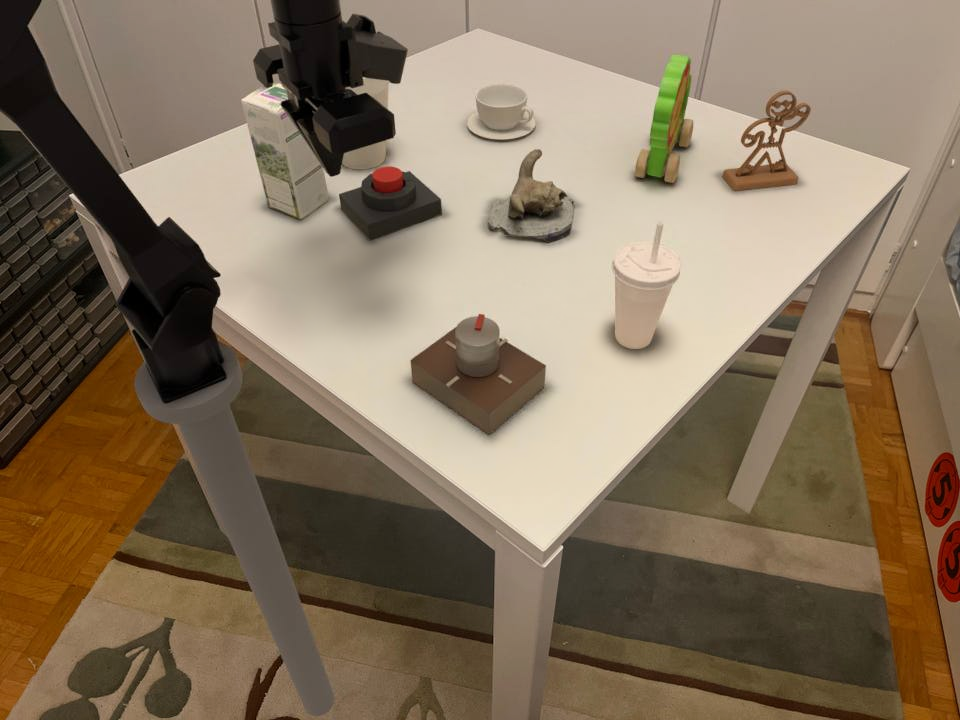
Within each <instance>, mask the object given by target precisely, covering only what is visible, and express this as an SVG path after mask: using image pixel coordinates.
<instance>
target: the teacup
mask: <svg viewBox="0 0 960 720" xmlns="http://www.w3.org/2000/svg"><path fill="white" fill-rule="evenodd" d="M528 95H529V94H528V93H527V91H526V90H525V89H523V87H520V86H517V85H514V84H510V83H493V84H488V85H485V86H482V87H481V88H479V89H478V90H477V91H475V97H474V98H475V104H476V110H477V111H474V112H473V113H472V114H471V115H470V116H469V117H468V118H467V121H466V126H467V129H469V131H470V132H472V133H474V134H475V135H477V136H480V137H482V138H486V139H491V140H513V139H518V138H522V137H523V136H526V135H528V134H529V133H531V132H532V131H533V130H534V129H535V127H536V120H535V118H534V110H533V108H532V107H530V106H529V105H527V103H528V97H529V96H528Z"/></svg>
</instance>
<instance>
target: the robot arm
mask: <svg viewBox="0 0 960 720" xmlns="http://www.w3.org/2000/svg"><path fill="white" fill-rule="evenodd" d="M42 1H43V0H0V113H1V114H2V115H4V116H5V117H6V118H8V119H9V120H10V121H11V122H12V123H13V125H15V127H16V128H17V129H18V130H19V132H21V134H22V135H23V136H24V137H25V139H26V140H27V141H28V142H29V143H30V144H31V145H32V147H33V148H34V149H35V150H36V152H37V153H38V154H39V155H40V156H41V157H42V159H43V160H44V161H45V162H46V163H47V165H48V166H49V168H51V169H52V170H53V171H54V173H55V174H56V175H57V176H58V178H59V179H60V180H61V181H62V182H63V184H64V185H65V186H66V187H67V188H68V189H69V191H70V192H71V193H72V194H73V195H74V196H75V198H76V199H77V200H78V201H79V203H81V205H82V206H83V207H84V208H85V210H86V211H87V213H89V215H91V217H92V218H93V219H94V220H95V221H96V223H97V224H98V225H99V226H100V227H101V229H102V230H103V231H104V232H105V233H106V234H107V235H108V237H109V239H111V241H112V243H113V246H114V248H115V251H116V253H117V256H118V258H119V261H120V263H121V265H122V267H123V268H124V270H125V272H126V274H127V276H128V280H127V282H126V283H125V285H124V287H123V289H122V290H121V292H120V294H119V296H118V298H117V299H116V301H115V304H114V305H115V308H117V310H118V311H119V312H120V313H121V314H122V315H123V317H124V319H126V320H127V322H128V323H129V324H130V325H131V327H132V328H133V329H132V330H131V332H132V335H133V337H134V339H135V342H136V344H137V347H138V349H139V351H140V353H141V355H142V357H143V360H144V362H146V367H147V370H148V372H149V374H150V376H151V378H152V380H153V383H154V385H155V387H156V389H157V391H158V393H159V396H160V398H161V400H162V402H163V403H170V402H173V401H175V400H177V399H180V398H182V397H185V396H187V395H190V394H192V393H195V392H197V391H200V390H202V389H204V388H207V387H209V386H212V385H214V384H217V383H219V382H222V381H224V380H226V379H227V375H226V372H225V370H224V369H223V367H222V365H221V364H222V363H224V361H225V360H224V357H223V354H222V351H221V348H220V345H219V343H218V341H219V339H218V336H217V335H216V332H215V330H214V329H213V320H214V319H213V318H214V317H213V316H214V309H215V308H216V307H217V304H218V302H219V298H220V297H221V296H222V294H221V288H220V285H219V283H218V281H217V280H216V278H220V277H221V276H222V274H221V273H220V272H219V271H218V270H217V269H216V268H215V267H214V266H213V265H212V263H210V262H209V261H208V260H207V258H206V256H205V254H204V252H203V250H202V249H201V246H200V245H199V243H197V242H196V240H194V239H193V238H192V237H191V235H189V234H188V233H187V232H186V231H185V230H184V229H183V228H182V227H181V226H180V225H179V224H178V223H177V222H175V220H174V219H173V218H171V216H168V217H166V219H165V220H163V221H162V222H161V223H160V224H159V225H158V224H157V223H156V222H155V220H154V219H153V218H152V216H151V215H150V214H149V212H148V211H147V210H146V208H145V207H144V206H143V205H142V203H141V202H140V200H138V198H137V197H136V196H135V195H134V193H133V192H132V190H131V189H130V187H129V186H128V185H127V184H126V182H125V181H124V180H123V178H122V177H121V176H120V174H119V173H118V171H117V170H116V169H115V167H113V165H112V164H111V162H110V161H109V160H108V159H107V157H106V156H105V155H104V153H103V152H102V151H101V149H100V148H99V147H98V145H97V144H96V143H95V141H94V140H93V139H92V137H91V136H90V135H89V133H88V132H87V131H86V129H85V128H84V127H83V126H82V124H81V123H80V122H79V120H78V119H77V117H76V116H75V115H74V114H73V113H72V111H71V110H70V108H69V107H68V106H67V104H66V103H65V102H64V101H63V99H62V97H61V96H60V94H59V92H58V90H57V88H56V85H55V83H54V79H53V76H52V74H51V71H50V69H49V66H48V64H47V61H46V59H45V57H44V55H43V53H42V50H41V48H40V47H39V45H38V44H37V43H38V42H37V41H36V39H35V37H34V36H33V33H32V32H31V29H30V28H29V24H30V23H31V21H32V20H33V18H34V17H35V14H36V13H37V11H38V9H39V7H40V6H41V4H42ZM270 4H271V5H270V6H271V10H272V15H273V20H274V21H272V22H268V23H267V25H268V31H269V35H270V36H271V37H272V38H273V39H274V40H275V41H276V42H278V44H274V45H270V46H266V47H263V48H259V49H258V51H257V53H256V55H255V56H254V58H253V59H252V63H253V67H254V71H255V76H256V79H257V80H258V81H259V82H260V83H261V85H263V86H265V87H266V88H269V87H272V86H273V82H275V81H274V78H273V75H277V76H278V80H279V82H280V84H282V87H283V88H285V89H286V91H287V97H288V100H284V101H282V102H281V103H280V104H281V107H282V108H283V110H284V111H285V112H286V114H287V115H288V116H289V118H290V119H291V121H292V122H293V124H294V125H295V127H296V128H297V130H298V131H299V133H300V134H301V135H302V137H303V138H304V140H305V141H306V143H307V144H308V146H309V147H310V149H311V150H312V152H313V153H314V155H315V156H316V158H317V159H318V161H319V162H320V164H321V165H322V167H323V169H324V172H325V173H326V174H327V175H328V176H329V177H330V178H333V177H336V176H339V175H340V174H341V170H342V166H343V164H342V161H343V156H344V153H346V152H350V151H353V150H356V149H360V148H363V147H366V146H369V145H373V144H376V143H379V142H382V141H386V140H387V141H389V140H391V139H394V137H396V135H397V133H396V131H397V130H396V122H395V120H396V119H395V114H394V113H393V112H392V111H391V110H389V108H388V109H387V108H386V107H385V106H383V105H382V104H381V103H380V102H379V101H377V100H376V99H375V98H373V97H372V96H370V95H369V94H368V93H362V94H359V95H357V94H356V93H355V92H354V91H352V90H351V89H345V88H347V87H351V88H356V87H359V86H363V85H364V83H363V77H364V78H370V79H378V80H386V81H390V83H389V84H393V85H399V84H401V83H402V77H403V73H404V69H405V64H406V61H407V57H408V56H407V55H408V52H409V49H408V48H407V47H406V46H405V45H403V44H402V43H400V42H399V41H398V40H396V39H394V38H393V37H392V36H389V35H387V34H385V33H383V32H382V31H376V26H375V22H374V21H373V20H372V19H371V18H369V17H368V16H366V15H365V14H364V15H363V14H357V13H352V14H351V16H350V17H349V19H348V20H347V22H345V21H344V20H343V17H342V9H341V1H340V0H270ZM387 141H386V142H387ZM221 376H222V377H221ZM166 398H167V399H166Z"/></svg>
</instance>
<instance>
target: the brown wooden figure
mask: <svg viewBox="0 0 960 720" xmlns="http://www.w3.org/2000/svg"><path fill="white" fill-rule="evenodd" d="M782 96H791V99H792V100H791V101H790V100H788V99H784V100H783V101H779V100H777V99H779V98H781V97H782ZM797 101H798V100H797V97H796V95H795V94H794V93H793V92H792V91H789V90H780V91H778V92H776V93H775V94H773V95H772V96H771V97H770V98H769V100H768V101H767V103H766V106H765V113H766V115H767V117H763V118H760V119H757V120H755V121H753V122H752V123H751V124H749V126H747V128H746V129H745V130H744V131H743V133H742V135H741V138H740V143H741V144H742V146H743V147H744V148H752V147H753V146H755V144H757V145H756V147H755V148H754V149H753V151H752V152H751V153H750V154H749V155H748V157H747V158H746V159H745V161H744V162H743V163H742V164H741V166H740V167H736V168H728V169H726V168H725V169H724V170H723V172H722V178H723V179H724V181H725V182H726V183H727V184H728V186H729V187H730V189H732V191H735V192H738V191H748V190H756V189H764V188H765V189H766V188H774V187H781V186H783V187H784V186H792V185H797V184H798V180H799V176H798V175H797V174H796V173H795V171H793V169H792V168H791V167H790V166H789V165H788V163H787V161H786V157H785V154H784V151H783V148H782V145H783V142H784V140H785V135H786V133H790V132H792V131H795V130H797V129H798V128H799V127H801V126H802V125H803V124H804V123H805V122H806V121H807V119H808V118H809V116H810V113H811V110H812V109H811V106H810V105H809V104H808V103H806V102H800V103H798V104H797ZM771 107H774V108H775V109H777V110H778V109H780V108H781V107H784V108H783V109H782V110H780V111H775V110H774V109H773V108H771ZM802 108H805V111H804V110H801V109H802ZM771 113H772V114H773V115H774V116H773V115H772V114H771ZM796 117H800V119H798V121H797V122H796V123H794V124H793V125H791V126H788V127H785V128H782V127H783V126H784V123H785V121H791V120H793V119H795V118H796ZM765 123H767V125H768V126H769V128H770V135H769V136H768V137H767V139H768V141H767V142H764V140H765V136H766V132H765V131H764V130H759V131H757V132H756V133H755V134H751V133H750V132H752V130H753V129H755V128H756V127H757V126H759V125H761V124H765ZM777 126H779V127H781V131H780V134H779V137H778V140H776V137H774V134H776V133H778V128H777ZM746 140H748V141H749V140H750V141H749V142H747V143H746ZM775 140H776V141H775ZM771 148H778V152H779V155H780V156H779V157H780V159H778V160H776V161H775V162H773V163H772V159H771V156H770V153H769V152H768V151H767V150H765V152H764V153H763V155H761V157H760V158H759V159H758V160H757V162H756V163H755V164H754V165H751V164H750V163H751V162H752V161H753V159H754V158H755V157H756V155H758V153H760V151H761V150H762V149H771ZM766 160H767V163H768V164H763V163H764V162H765V161H766ZM762 164H763V165H762Z"/></svg>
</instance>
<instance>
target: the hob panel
mask: <svg viewBox="0 0 960 720" xmlns="http://www.w3.org/2000/svg"><path fill="white" fill-rule="evenodd" d="M456 327H457V326H455V327H453V329H451V330H449V332H447V333H446V334H444V335H443V336H441V337H440V338H439V339H437V340H436V341H435V342H433V343H432V344H430V345H429V346H427V347H426V348H424V349H423V350H422V351H421V352H419V353H418V354H417V355H415V356H413V357H412V358H411V359H410V360H409V361H410V371H411V382H412V383H413V384H415V385H416V386H418V387H419V388H421V389H422V390H423V391H425V392H426V393H428V394H429V395H431V396H432V397H434V398H435V399H436V400H438V401H440V402H441V403H442V404H444V405H445V406H446V407H448V408H449V409H451V410H452V411H454V412H455V413H457V414H458V415H459V416H461V417H463V418H464V419H466V421H468V422H470V423H471V424H473V425H474V426H476V427H477V428H478V429H480V430H481V431H483V432H484V433H486V434H487V435H491V434H492V433H494V431H496V430H497V429H498V428H499V427H501V425H503V424H504V423H505V422H506V421H507V420H508V419H510V418H511V417H512V416H513V415H514V414H516V413H517V412H518V411H519V410H520V409H522V407H524V405H526V404H527V403H528V402H529V401H530V400H532V399H533V398H534V397H535V396H536V395H537V394H539V392H541V391H542V390H543V389H544V388H545V384H546V371H547V365H546V364H545V363H543V362H541V361H540V360H537V359H536V358H535V357H533V356H531V355H530V354H528V353H526V352H524V351H523V350H521V349H519V348H518V347H516V346H514V345H513V344H511V343H509V342H508V341H509V340H508V339H507V338H502V337H500V344H499V366H498V368H497V369H496V370H495V371H494V372H493V373H492V374H490V375H488V376H484V377H471V376H468V375H466V374H464V373H462V372H461V371H460V370H459V368H458V367H457V363H456V338H455V330H456Z"/></svg>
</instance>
